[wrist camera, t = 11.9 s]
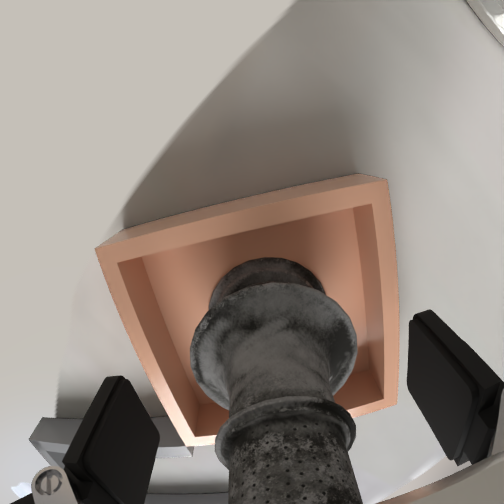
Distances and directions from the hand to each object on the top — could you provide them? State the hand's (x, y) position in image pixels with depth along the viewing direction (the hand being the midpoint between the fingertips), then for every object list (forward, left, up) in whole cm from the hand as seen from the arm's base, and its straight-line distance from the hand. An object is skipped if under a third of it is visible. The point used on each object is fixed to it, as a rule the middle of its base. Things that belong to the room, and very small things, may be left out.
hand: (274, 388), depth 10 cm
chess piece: (0, 0, -5) cm, 5 cm away
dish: (0, 0, -5) cm, 5 cm away
